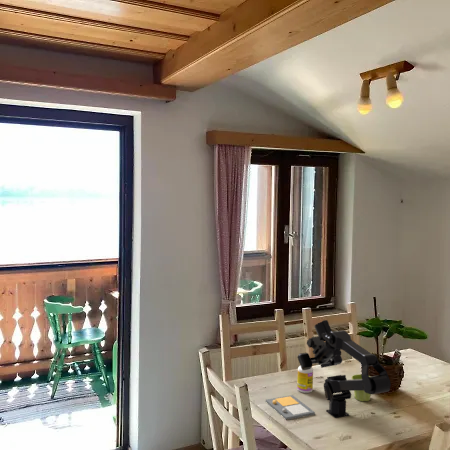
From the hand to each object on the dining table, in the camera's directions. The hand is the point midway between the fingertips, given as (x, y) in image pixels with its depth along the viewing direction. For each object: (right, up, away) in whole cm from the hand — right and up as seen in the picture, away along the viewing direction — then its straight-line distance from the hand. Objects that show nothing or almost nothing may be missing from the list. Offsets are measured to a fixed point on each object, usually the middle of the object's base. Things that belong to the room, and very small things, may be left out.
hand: (312, 368), depth 209 cm
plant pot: (+21, -12, -2) cm, 24 cm away
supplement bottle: (-2, -11, +6) cm, 13 cm away
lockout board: (-11, -12, -12) cm, 21 cm away
